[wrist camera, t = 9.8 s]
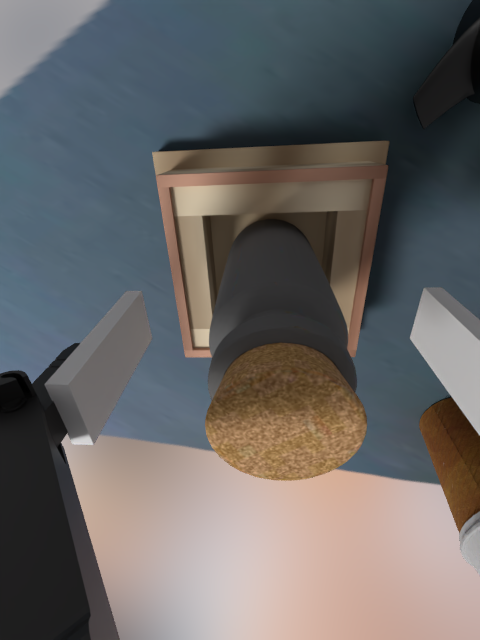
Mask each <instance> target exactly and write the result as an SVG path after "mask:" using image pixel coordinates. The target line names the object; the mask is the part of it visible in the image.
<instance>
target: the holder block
mask: <svg viewBox="0 0 480 640" xmlns="http://www.w3.org/2000/svg"><path fill="white" fill-rule="evenodd" d="M388 147H389V141H366V142H345V143H325V144H304V145H283V146H263V147H242V148H221V149H200V150H180V151H159V152H152V154H153V160H154V166H155V172H156V180H157V186H158V192H159V198H160V204H161V211H162V217H163V223H164V229H165V235H166V241H167V247H168V253H169V260H170V266H171V272H172V278H173V284H174V290H175V296H176V303H177V309H178V315H179V321H180V327H181V333H182V339H183V346H184V352H185V357H212V356H211V353H210V348H209V331H210V325H211V321H212V316H213V312H214V308H215V304H216V300H217V296H218V293H219V289H220V285H221V281H222V277H223V274H224V270H225V266H226V263H227V259H228V255H229V252H230V249H231V247H232V244H233V242H234V240H235V239H236V237H237V236H238V235H239V233H240V232H241V231H242V230H244V229H245V228H246V227H248V226H249V225H251V224H253V223H255V222H257V221H260V220H265V219H278V220H283V221H286V222H288V223H291V224H292V225H294V226H296V227H297V228H298V229H299V230H300V231H301V232H302V233H303V234H304V235H305V236H306V238H307V239H308V241H309V243H310V245H311V247H312V249H313V251H314V253H315V255H316V257H317V259H318V261H319V263H320V265H321V267H322V269H323V271H324V274H325V276H326V278H327V280H328V282H329V284H330V286H331V289H332V291H333V293H334V295H335V297H336V299H337V302H338V304H339V306H340V308H341V311H342V313H343V316H344V319H345V321H346V324H347V329H348V346H347V350H348V352H349V354H350V356H351V357H355V355H356V349H357V343H358V337H359V332H360V326H361V320H362V315H363V309H364V303H365V297H366V292H367V286H368V280H369V275H370V269H371V263H372V257H373V252H374V246H375V240H376V235H377V229H378V223H379V217H380V212H381V206H382V200H383V194H384V189H385V183H386V177H387V172H388V166H389V165H385V164H386V159H387V153H388Z"/></svg>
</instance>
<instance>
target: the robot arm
mask: <svg viewBox="0 0 480 640" xmlns="http://www.w3.org/2000/svg"><path fill="white" fill-rule="evenodd" d="M410 339H411V341H412V342H413V343H414V345H415V346H416V348H417V349H418V350H419V352H420V353H421V355H422V356H423V357H424V359H425V360H426V362H427V363H428V364H429V366H430V367H431V369H432V370H433V371H434V373H435V374H436V376H437V377H438V378H439V380H440V381H441V383H442V384H443V385H444V387H445V388H446V390H447V391H448V392H449V394H450V395H451V397H452V398H453V399H454V401H455V402H456V403H457V405H458V406H459V408H460V409H461V410H462V412H463V413H464V415H465V416H466V417H467V419H468V420H469V422H470V423H471V424H472V426H473V427H474V429H475V430H476V431H477V433H478V434H479V436H480V320H479V319H478V318H477V317H475V316H474V315H473V314H472V313H471V312H470V311H468V310H467V309H466V308H465V307H464V306H463V305H462V304H460V303H459V302H458V301H457V300H456V299H455V298H453V297H452V296H451V295H450V294H449V293H448V292H446V291H445V290H444V289H443V288H442V287H439V288H424V289H423V293H422V296H421V300H420V304H419V307H418V311H417V315H416V318H415V322H414V325H413V329H412V333H411V336H410ZM151 340H152V335H151V331H150V326H149V322H148V317H147V313H146V308H145V304H144V299H143V295H142V291H126V292H125V293H124V295H123V296H122V297H121V298H120V299H119V300H118V301H117V302H116V304H115V305H114V306H113V307H112V308H111V309H110V310H109V312H108V313H107V314H106V315H105V316H104V317H103V318H102V320H101V321H100V322H99V323H98V324H97V325H96V326H95V327H94V329H93V330H92V331H91V332H90V333H89V334H88V335H87V337H86V338H85V339H84V340H83V341H82V342H81V343H74V344H73V345H71V346H70V347H68V348H67V349H65V350H63V351H62V352H61V353H60V355H59V356H58V357H57V358H56V359H55V361H53V362H52V363H51V364H50V365H49V368H47V369H46V370H45V371H44V372H43V373H42V374H41V375H40V376H39V377H38V378H37V379H36V380H35V381H34V383H33V384H31V382H30V380H29V378H28V376H27V374H26V373H25V372H23V371H19V370H18V371H8V372H5V373H1V374H0V640H120V639H119V635H118V632H117V629H116V625H115V622H114V618H113V615H112V611H111V608H110V604H109V601H108V598H107V594H106V591H105V587H104V584H103V581H102V577H101V574H100V570H99V567H98V563H97V560H96V556H95V553H94V550H93V546H92V543H91V539H90V536H89V533H88V530H87V526H86V522H85V519H84V515H83V512H82V509H81V505H80V502H79V499H78V495H77V492H76V488H75V485H74V482H73V478H72V475H71V471H70V468H69V464H68V461H67V457H66V454H65V450H64V448H63V446H62V444H61V441H62V440H63V438H64V437H65V435H66V434H67V433H68V435H69V437H70V440H71V442H72V444H84V445H94V443H95V442H96V440H97V438H98V436H99V434H100V432H101V431H102V429H103V427H104V425H105V423H106V422H107V420H108V418H109V416H110V414H111V412H112V411H113V409H114V407H115V405H116V403H117V402H118V400H119V398H120V396H121V394H122V392H123V391H124V389H125V387H126V385H127V383H128V382H129V380H130V378H131V376H132V374H133V372H134V371H135V369H136V367H137V365H138V363H139V361H140V360H141V358H142V356H143V354H144V352H145V351H146V349H147V347H148V345H149V343H150V341H151Z"/></svg>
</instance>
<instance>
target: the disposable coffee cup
mask: <svg viewBox="0 0 480 640" xmlns="http://www.w3.org/2000/svg"><path fill="white" fill-rule="evenodd" d="M419 427H420V430H421V433H422V435H423V438H424V440H425V443H426V446H427V448H428V451H429V454H430V456H431V459H432V462H433V465H434V467H435V470H436V472H437V475H438V478H439V480H440V483H441V486H442V488H443V491H444V494H445V496H446V499H447V502H448V504H449V507H450V510H451V512H452V515H453V518H454V520H455V523H456V526H457V528H458V531H459V541H460V550H461V553H462V556H463V558H464V559H465V561H466V562H468V563H469V564H470V565H472V566H473V567H474V568H475V569H476V571H477V572H478V573H479V575H480V436H479V434H478V433H477V431H476V430H475V429H474V427H473V426H472V424H471V423H470V422H469V420H468V419H467V417H466V416H465V415H464V413H463V412H462V410H461V409H460V408H459V406H458V405H457V403H456V402H455V401H454V399H453V398H447V399H444V400H442V401H440V402H437V403H436V404H434V405H432V406H431V407H430V408H429V409H427V410H426V411H425V413H424V414H423V415H422V417H421V419H420V424H419Z"/></svg>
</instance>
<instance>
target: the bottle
mask: <svg viewBox="0 0 480 640" xmlns="http://www.w3.org/2000/svg"><path fill="white" fill-rule="evenodd" d="M347 346H348V329H347V324H346V321H345V319H344V316H343V313H342V311H341V308H340V306H339V304H338V302H337V299H336V297H335V295H334V293H333V291H332V289H331V286H330V284H329V282H328V280H327V278H326V276H325V274H324V271H323V269H322V267H321V265H320V263H319V261H318V259H317V257H316V255H315V253H314V251H313V249H312V247H311V245H310V243H309V241H308V239H307V238H306V236H305V235H304V234H303V233H302V232H301V231H300V230H299V229H298V228H297V227H296V226H294V225H292V224H291V223H288V222H286V221H283V220H278V219H265V220H260V221H257V222H255V223H253V224H251V225H249V226H248V227H246V228H245V229H244V230H242V231H241V232H240V233H239V235H238V236H237V237H236V239H235V240H234V242H233V244H232V247H231V249H230V252H229V255H228V259H227V263H226V266H225V270H224V274H223V277H222V281H221V285H220V289H219V293H218V296H217V300H216V304H215V308H214V312H213V316H212V321H211V325H210V331H209V348H210V353H211V356H212V361H211V365H210V369H209V375H208V390H209V394H210V397H211V400H212V402H211V404H210V406H209V408H208V411H207V415H206V420H205V427H206V434H207V437H208V440H209V442H210V444H211V446H212V448H213V449H214V450H215V452H216V453H217V454H218V455H219V457H220V458H222V459H223V460H224V461H225V462H227V463H228V464H229V465H231V466H232V467H234V468H236V469H238V470H240V471H242V472H244V473H247V474H249V475H253V476H255V477H259V478H264V479H271V480H301V479H307V478H312V477H315V476H318V475H322V474H325V473H327V472H330V471H332V470H334V469H336V468H338V467H339V466H341V465H342V464H344V463H345V462H347V461H348V460H349V459H350V458H351V457H352V456H353V455H354V454H355V453H356V452H357V451H358V449H359V448H360V446H361V445H362V442H363V440H364V438H365V435H366V430H367V416H366V413H365V410H364V407H363V405H362V403H361V401H360V399H359V398H358V396H357V395H356V393H355V391H356V387H357V377H356V370H355V366H354V363H353V361H352V358H351V356H350V354H349V352H348V350H347Z"/></svg>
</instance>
